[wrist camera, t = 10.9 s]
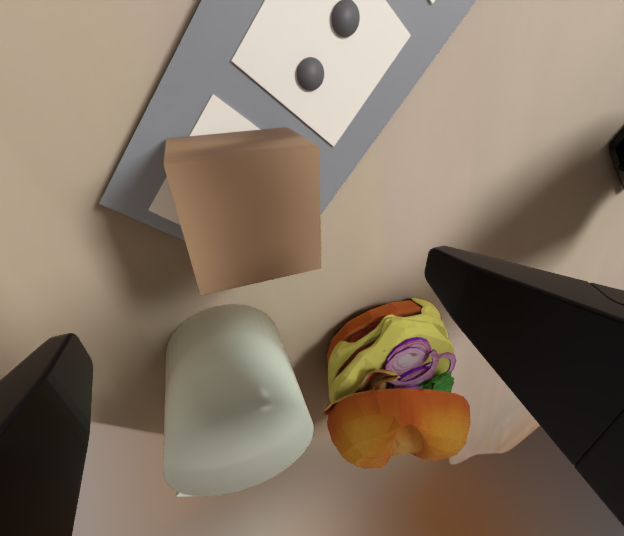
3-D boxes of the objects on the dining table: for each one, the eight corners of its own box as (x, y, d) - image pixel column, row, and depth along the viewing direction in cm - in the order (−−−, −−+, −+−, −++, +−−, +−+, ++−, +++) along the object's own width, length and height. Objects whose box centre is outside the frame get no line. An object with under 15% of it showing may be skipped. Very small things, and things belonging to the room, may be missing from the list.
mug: (202, 288, 18) (215, 392, 12) (298, 323, 22) (339, 413, 16) (129, 398, 20) (112, 526, 15) (227, 412, 24) (243, 517, 19)
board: (433, -459, 8) (454, -501, 8) (544, -107, 13) (562, -115, 13) (101, 198, 14) (97, 205, 13) (270, 274, 19) (274, 282, 18)
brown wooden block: (287, 127, 14) (319, 146, 11) (293, 229, 17) (321, 268, 14) (166, 138, 13) (163, 164, 10) (195, 247, 15) (200, 295, 12)
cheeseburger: (453, 318, 28) (530, 441, 21) (356, 374, 32) (392, 493, 24) (396, 264, 22) (476, 411, 14) (284, 340, 25) (304, 487, 18)
